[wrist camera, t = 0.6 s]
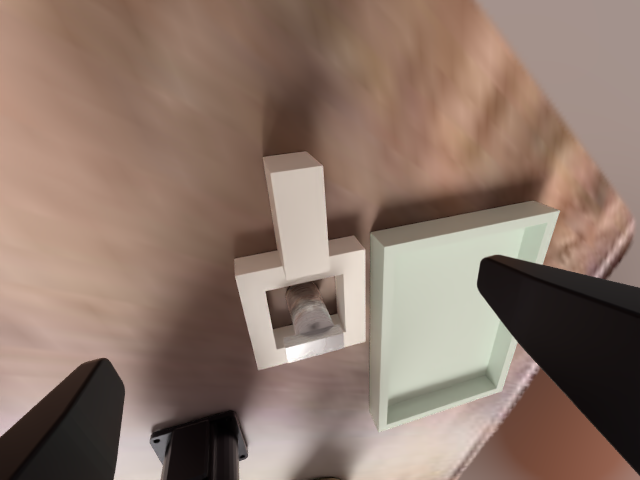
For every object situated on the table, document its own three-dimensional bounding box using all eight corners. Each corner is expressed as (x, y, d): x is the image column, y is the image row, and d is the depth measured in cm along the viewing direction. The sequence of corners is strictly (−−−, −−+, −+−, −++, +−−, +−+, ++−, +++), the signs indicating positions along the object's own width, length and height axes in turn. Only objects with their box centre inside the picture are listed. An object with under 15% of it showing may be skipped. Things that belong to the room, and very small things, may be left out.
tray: (486, 373, 33) (501, 391, 32) (369, 410, 31) (378, 432, 29) (533, 200, 24) (559, 210, 22) (370, 232, 21) (384, 247, 19)
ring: (355, 323, 25) (373, 357, 22) (255, 349, 23) (260, 389, 20) (351, 145, 18) (376, 157, 15) (211, 163, 17) (208, 182, 14)
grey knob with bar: (322, 303, 23) (344, 355, 19) (277, 314, 22) (289, 370, 18) (320, 277, 22) (343, 325, 17) (272, 287, 21) (284, 340, 17)
